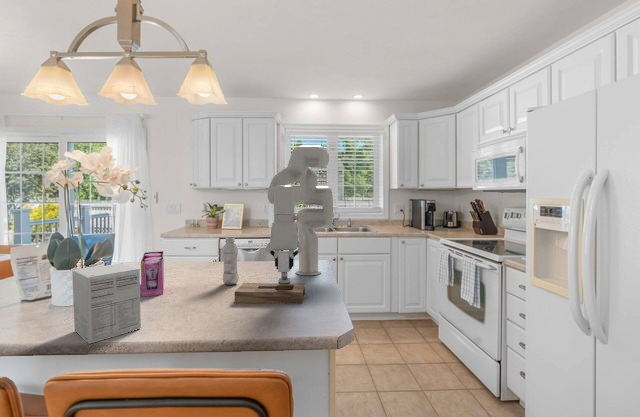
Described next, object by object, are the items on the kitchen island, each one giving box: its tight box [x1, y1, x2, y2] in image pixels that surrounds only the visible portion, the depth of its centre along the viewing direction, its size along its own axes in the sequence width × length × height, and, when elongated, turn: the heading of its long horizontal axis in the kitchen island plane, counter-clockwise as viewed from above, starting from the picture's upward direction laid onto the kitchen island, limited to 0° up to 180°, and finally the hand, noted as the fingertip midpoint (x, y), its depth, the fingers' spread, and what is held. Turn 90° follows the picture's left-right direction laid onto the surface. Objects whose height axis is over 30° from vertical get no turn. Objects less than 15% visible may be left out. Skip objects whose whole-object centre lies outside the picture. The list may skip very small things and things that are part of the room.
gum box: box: [140, 251, 165, 298], centre depth 138 cm, size 24×8×14 cm, turn 24°
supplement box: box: [71, 263, 142, 345], centre depth 95 cm, size 13×13×18 cm
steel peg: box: [277, 250, 291, 285], centre depth 124 cm, size 4×4×12 cm
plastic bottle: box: [221, 236, 240, 286], centre depth 144 cm, size 6×7×20 cm
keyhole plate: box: [234, 282, 306, 305], centre depth 125 cm, size 12×24×4 cm, turn 88°
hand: (284, 268), depth 124 cm, fingers closed on steel peg, 4 cm apart
